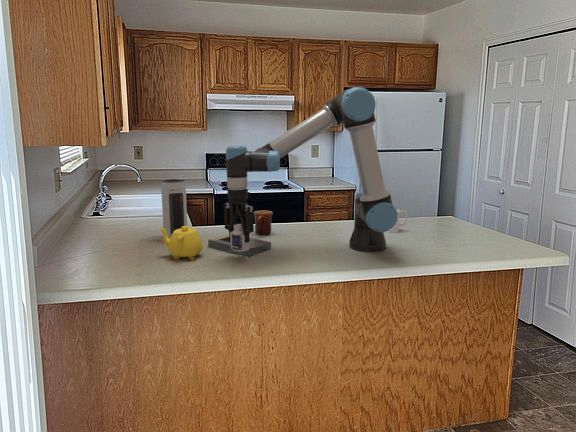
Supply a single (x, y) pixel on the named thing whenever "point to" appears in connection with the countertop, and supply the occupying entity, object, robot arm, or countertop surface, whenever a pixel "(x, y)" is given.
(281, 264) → the countertop surface
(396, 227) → the cup
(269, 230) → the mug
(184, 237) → the teapot
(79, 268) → the countertop surface
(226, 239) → the grey flat block
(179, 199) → the speaker
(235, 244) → the pill bottle
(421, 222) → the countertop surface
